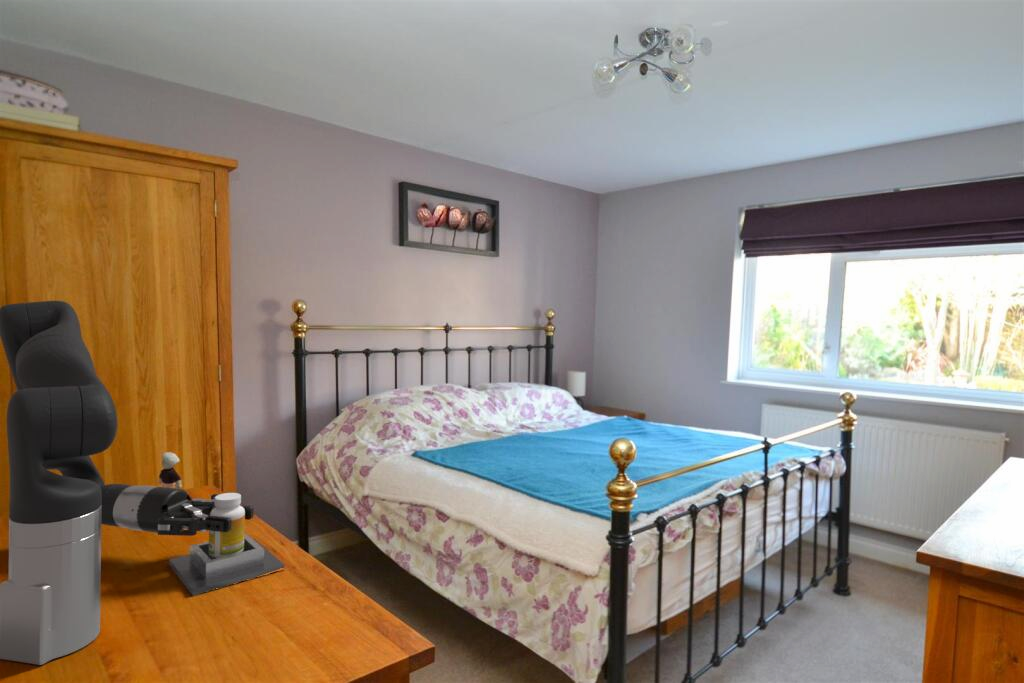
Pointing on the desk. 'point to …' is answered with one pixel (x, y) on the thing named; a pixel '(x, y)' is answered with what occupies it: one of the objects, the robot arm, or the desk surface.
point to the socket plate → (222, 566)
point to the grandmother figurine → (169, 471)
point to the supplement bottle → (234, 538)
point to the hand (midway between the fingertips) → (241, 518)
